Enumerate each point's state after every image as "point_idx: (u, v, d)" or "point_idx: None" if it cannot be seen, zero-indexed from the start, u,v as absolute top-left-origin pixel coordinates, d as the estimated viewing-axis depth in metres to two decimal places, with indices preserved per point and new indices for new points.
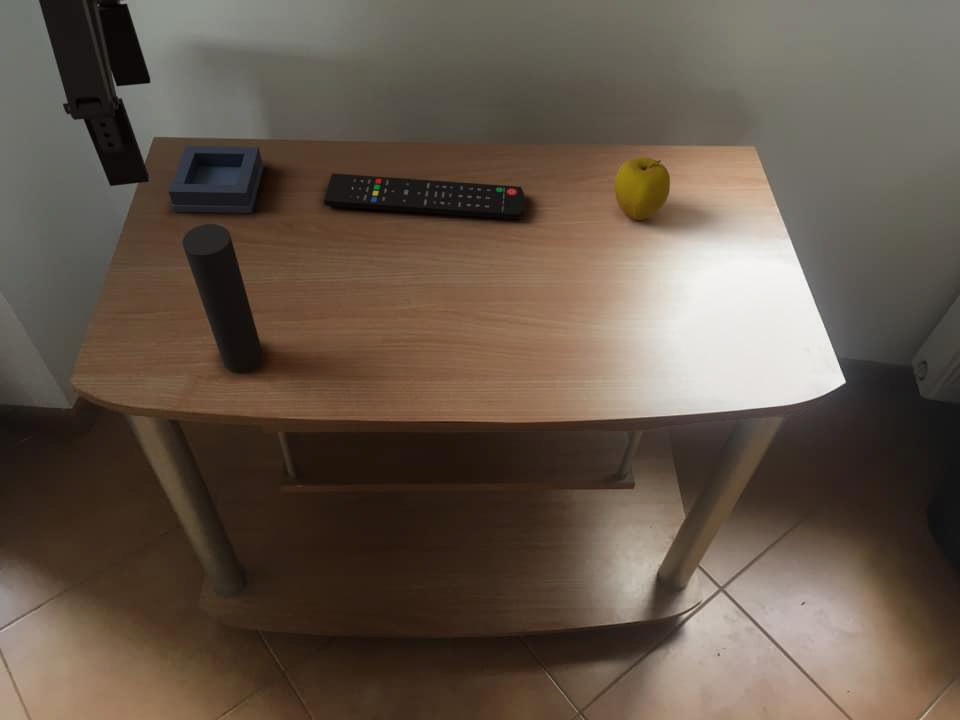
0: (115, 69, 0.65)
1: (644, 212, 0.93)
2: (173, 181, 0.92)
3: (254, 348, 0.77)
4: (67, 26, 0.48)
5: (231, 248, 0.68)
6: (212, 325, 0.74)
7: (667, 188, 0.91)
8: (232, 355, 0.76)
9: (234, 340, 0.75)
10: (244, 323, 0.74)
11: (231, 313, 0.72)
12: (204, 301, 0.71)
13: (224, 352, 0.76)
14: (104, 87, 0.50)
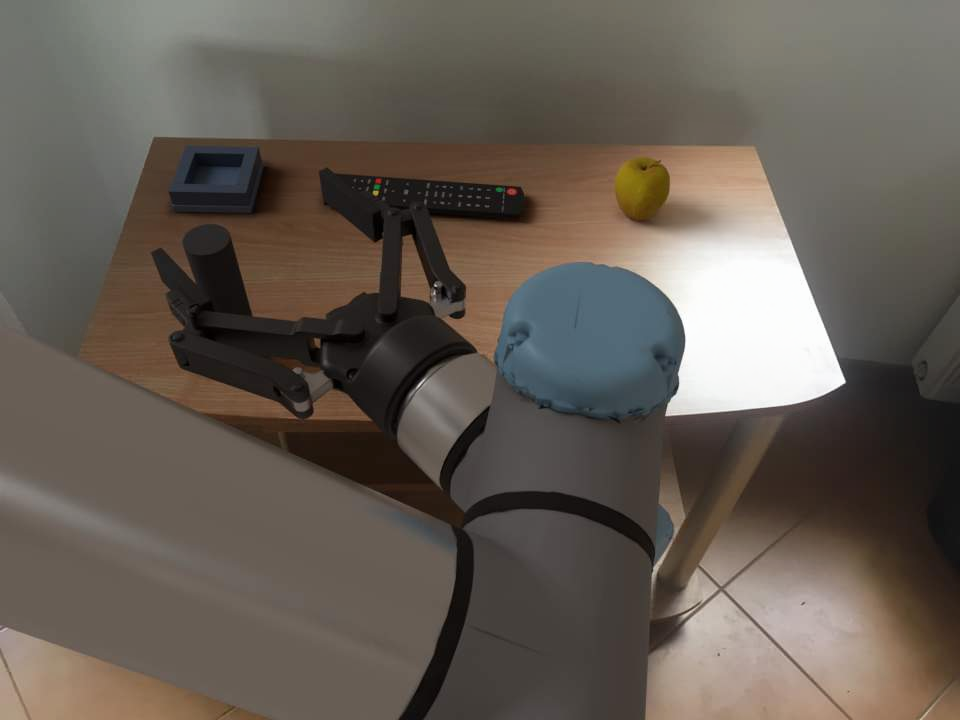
0: (331, 184, 0.58)
1: (644, 212, 0.93)
2: (173, 181, 0.92)
3: None
4: (246, 380, 0.48)
5: (231, 248, 0.68)
6: None
7: (667, 188, 0.91)
8: None
9: None
10: None
11: (231, 313, 0.72)
12: None
13: None
14: (199, 373, 0.49)
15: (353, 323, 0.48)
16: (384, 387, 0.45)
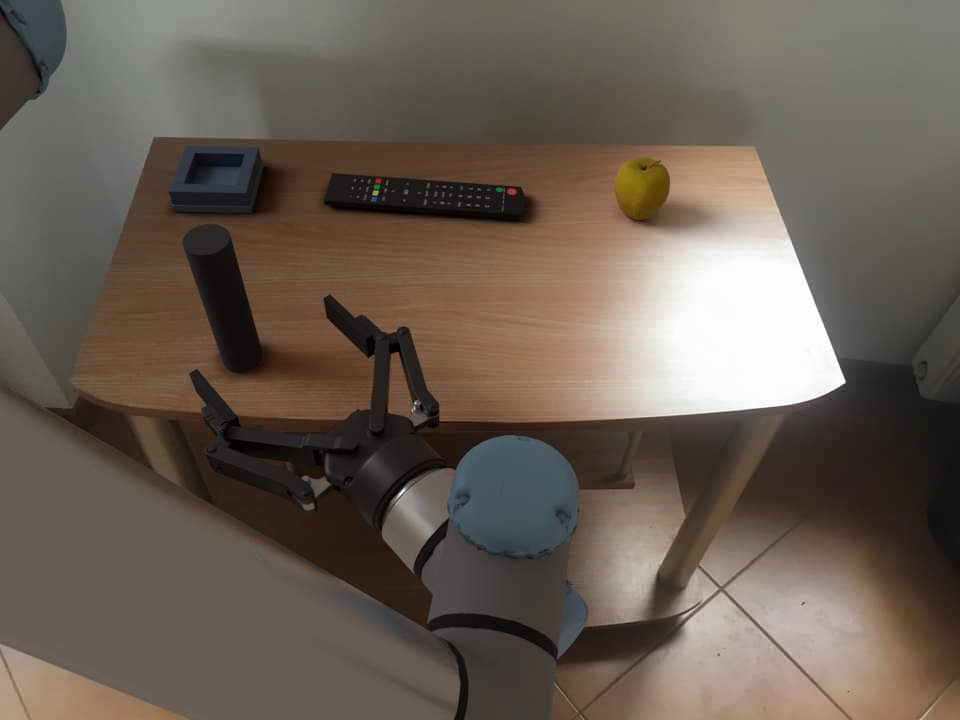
0: (333, 309, 0.72)
1: (644, 212, 0.93)
2: (173, 181, 0.92)
3: (254, 348, 0.77)
4: (265, 484, 0.61)
5: (231, 248, 0.68)
6: (212, 325, 0.74)
7: (667, 188, 0.91)
8: (232, 355, 0.76)
9: (234, 340, 0.75)
10: (244, 323, 0.74)
11: (231, 313, 0.72)
12: (204, 301, 0.71)
13: (224, 352, 0.76)
14: (228, 475, 0.63)
15: (349, 439, 0.61)
16: (372, 495, 0.58)
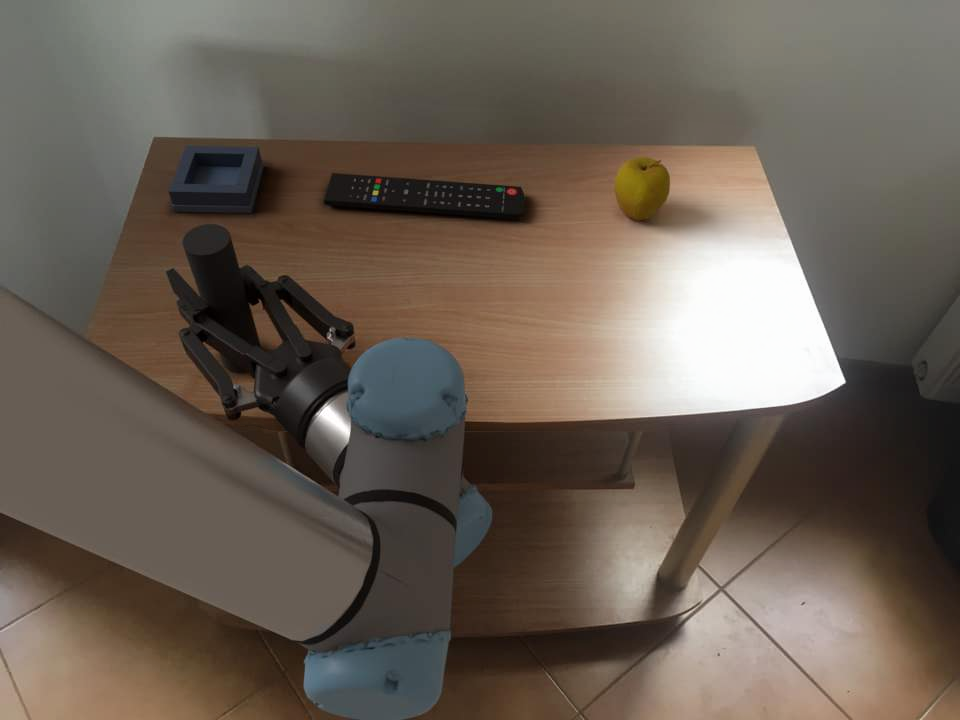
0: None
1: (644, 212, 0.93)
2: (173, 181, 0.92)
3: None
4: (209, 379, 0.67)
5: (231, 248, 0.68)
6: None
7: (667, 188, 0.91)
8: None
9: None
10: (244, 323, 0.74)
11: (231, 313, 0.72)
12: (204, 301, 0.71)
13: None
14: (193, 361, 0.70)
15: (278, 363, 0.66)
16: (296, 411, 0.62)
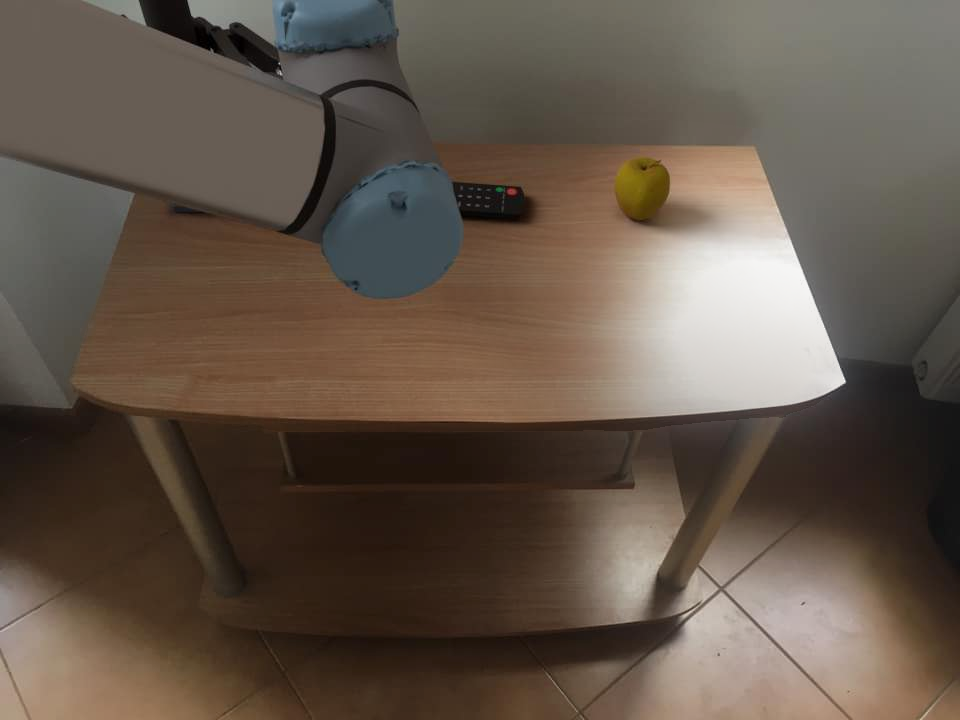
0: None
1: (644, 212, 0.93)
2: None
3: None
4: None
5: None
6: None
7: (667, 188, 0.91)
8: None
9: None
10: None
11: None
12: None
13: None
14: None
15: None
16: None
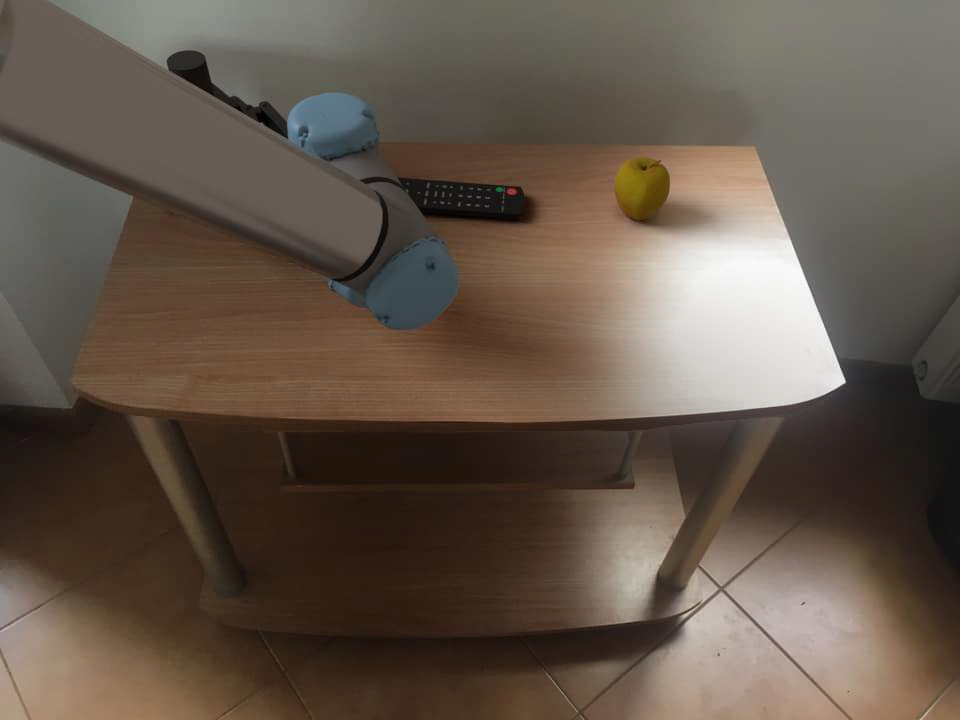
0: None
1: (644, 212, 0.93)
2: None
3: None
4: None
5: (206, 68, 0.84)
6: None
7: (667, 188, 0.91)
8: None
9: None
10: None
11: None
12: None
13: None
14: None
15: None
16: None
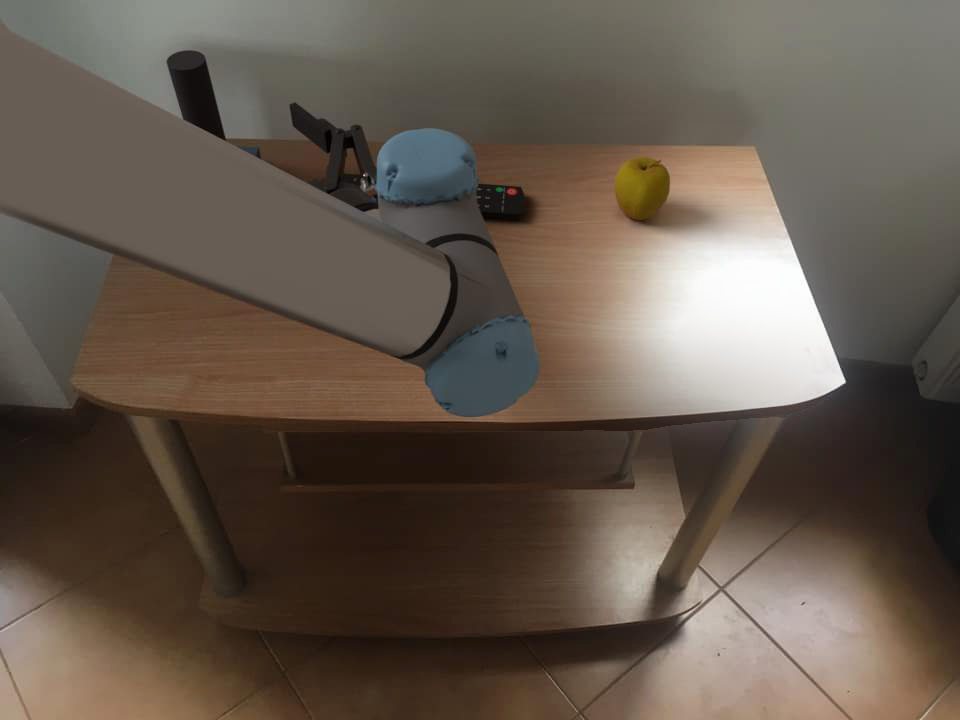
0: (297, 113, 0.84)
1: (644, 212, 0.93)
2: None
3: None
4: None
5: (206, 68, 0.84)
6: None
7: (667, 188, 0.91)
8: None
9: None
10: None
11: (207, 130, 0.88)
12: (185, 118, 0.87)
13: None
14: None
15: None
16: None
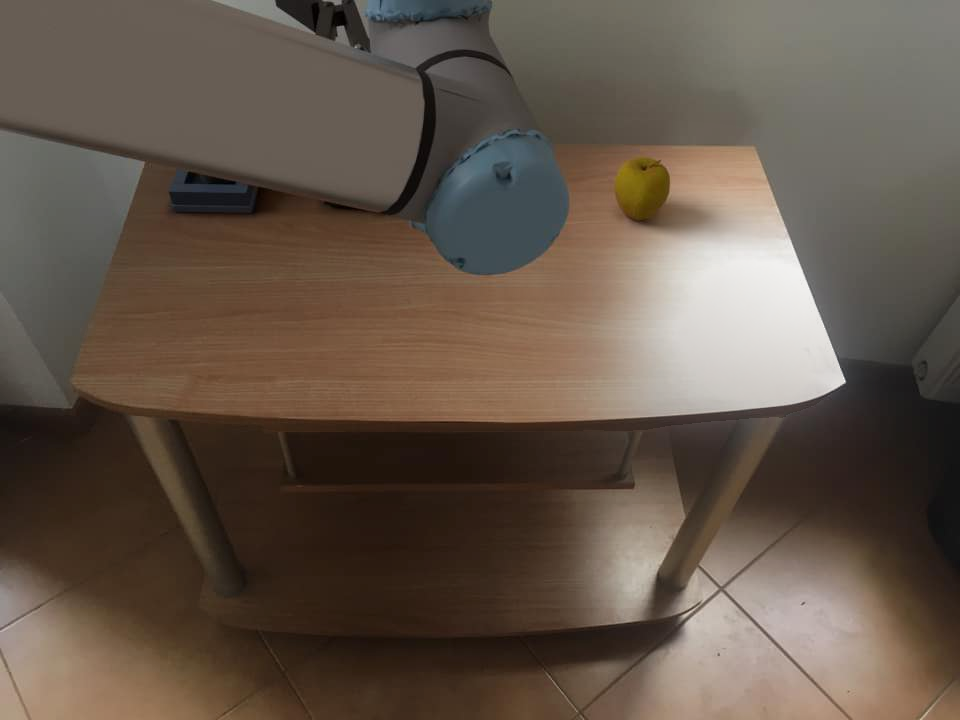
0: None
1: (644, 212, 0.93)
2: (173, 181, 0.92)
3: None
4: None
5: None
6: None
7: (667, 188, 0.91)
8: None
9: None
10: None
11: None
12: None
13: None
14: None
15: None
16: None
